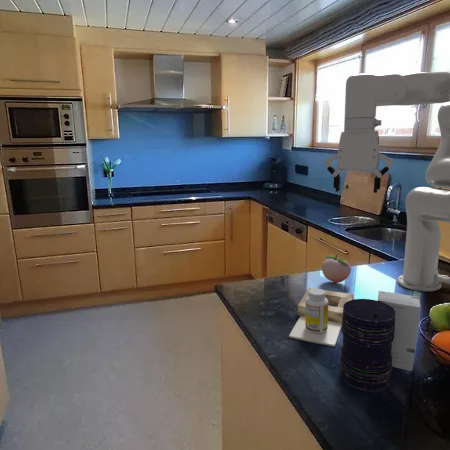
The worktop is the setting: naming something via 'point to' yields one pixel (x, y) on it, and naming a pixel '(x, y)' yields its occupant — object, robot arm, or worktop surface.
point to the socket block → (334, 299)
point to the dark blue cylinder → (367, 344)
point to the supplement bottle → (316, 311)
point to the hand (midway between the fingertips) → (356, 191)
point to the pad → (320, 338)
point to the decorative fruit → (336, 269)
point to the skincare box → (403, 327)
